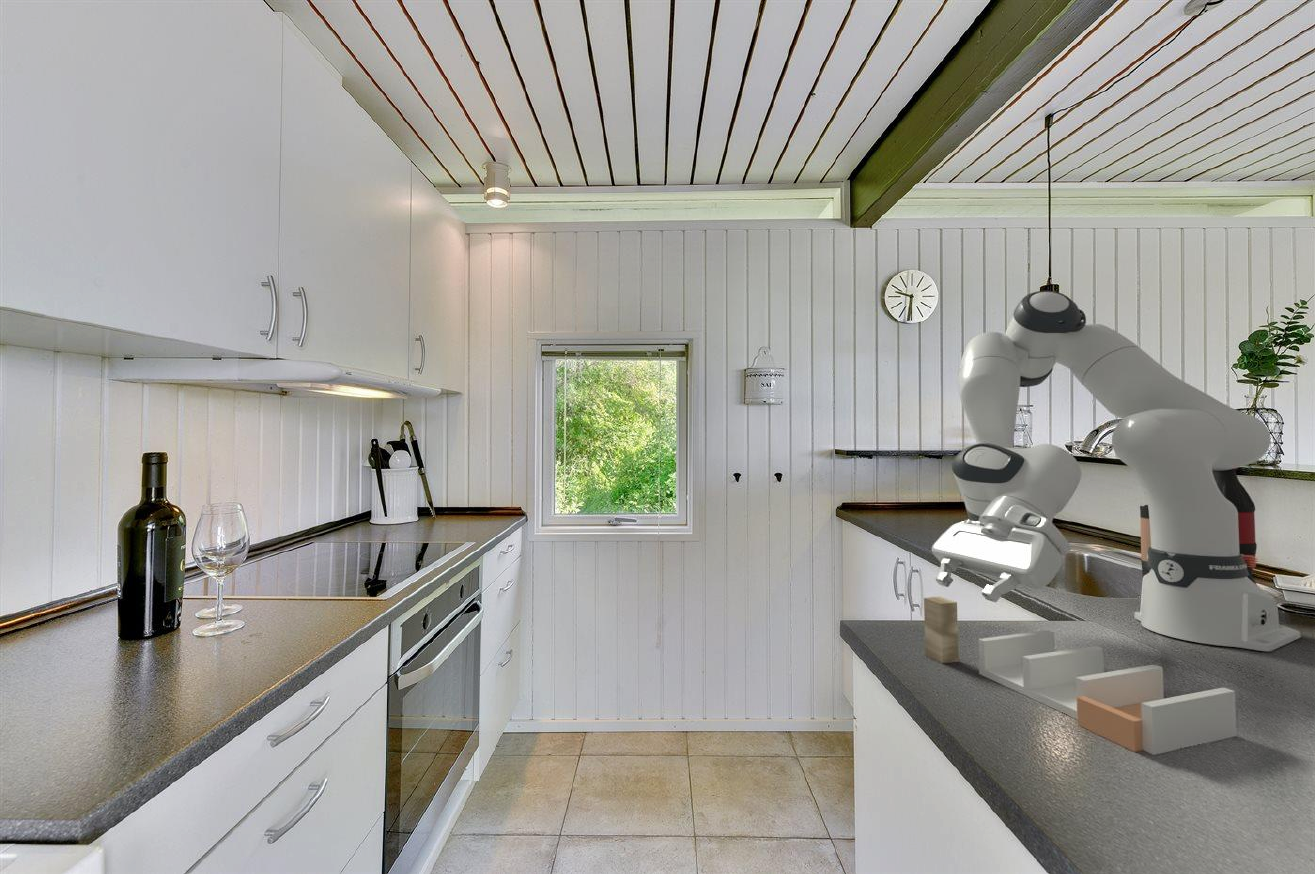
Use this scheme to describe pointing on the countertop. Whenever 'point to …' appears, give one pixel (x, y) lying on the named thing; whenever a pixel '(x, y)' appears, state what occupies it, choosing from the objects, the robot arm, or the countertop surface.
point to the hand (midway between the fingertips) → (963, 590)
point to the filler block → (941, 629)
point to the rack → (1107, 694)
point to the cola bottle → (1239, 511)
